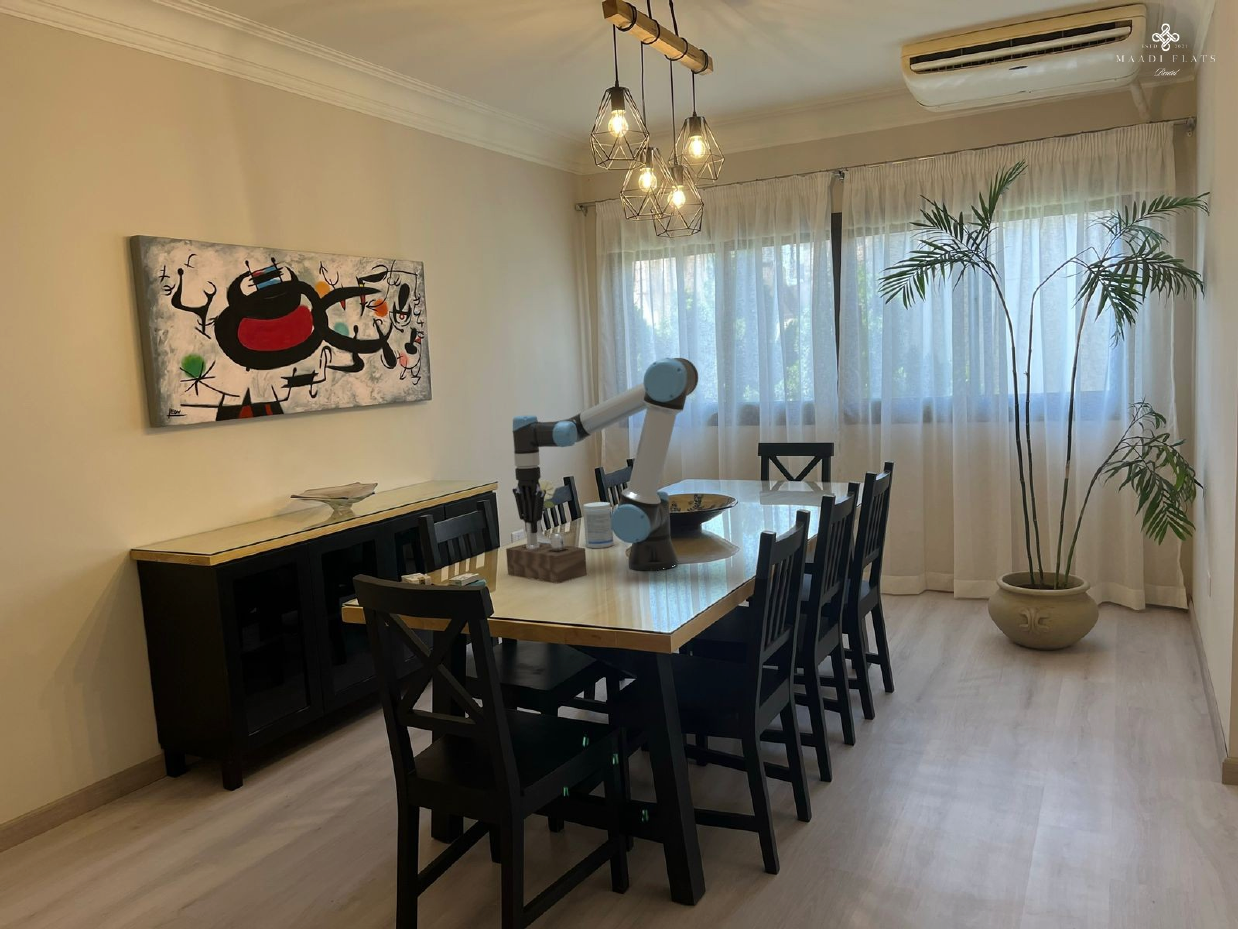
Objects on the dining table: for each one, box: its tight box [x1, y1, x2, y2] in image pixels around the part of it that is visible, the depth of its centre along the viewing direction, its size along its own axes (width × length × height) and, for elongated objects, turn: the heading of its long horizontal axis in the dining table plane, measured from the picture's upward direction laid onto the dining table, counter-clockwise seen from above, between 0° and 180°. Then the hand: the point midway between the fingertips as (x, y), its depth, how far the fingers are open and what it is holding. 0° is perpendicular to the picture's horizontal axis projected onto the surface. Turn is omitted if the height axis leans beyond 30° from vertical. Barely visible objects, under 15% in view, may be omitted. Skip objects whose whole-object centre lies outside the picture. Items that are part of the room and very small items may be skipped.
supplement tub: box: [582, 501, 614, 549], centre depth 314 cm, size 10×10×15 cm
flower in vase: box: [524, 479, 556, 544], centre depth 308 cm, size 13×11×25 cm
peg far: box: [526, 543, 539, 549], centre depth 279 cm, size 4×4×8 cm
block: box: [505, 542, 588, 584], centre depth 276 cm, size 22×12×8 cm, turn 48°
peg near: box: [549, 531, 565, 553], centre depth 272 cm, size 4×4×8 cm
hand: (532, 543), depth 279 cm, fingers closed
